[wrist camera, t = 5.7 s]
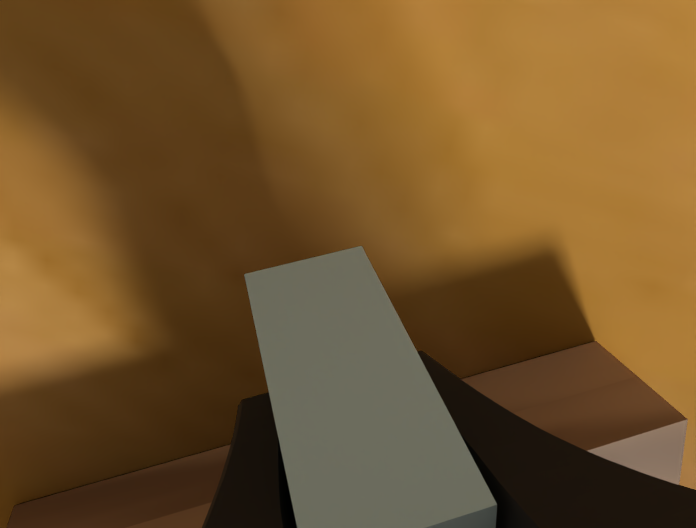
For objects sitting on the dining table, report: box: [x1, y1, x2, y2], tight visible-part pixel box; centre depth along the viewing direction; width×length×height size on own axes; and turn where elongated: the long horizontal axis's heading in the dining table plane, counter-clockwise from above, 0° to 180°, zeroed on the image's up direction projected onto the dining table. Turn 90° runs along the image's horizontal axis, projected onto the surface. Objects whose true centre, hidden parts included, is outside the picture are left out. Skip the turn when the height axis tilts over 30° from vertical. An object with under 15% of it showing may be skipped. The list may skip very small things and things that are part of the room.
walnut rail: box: [7, 341, 688, 528], centre depth 17 cm, size 3×18×4 cm, turn 99°
